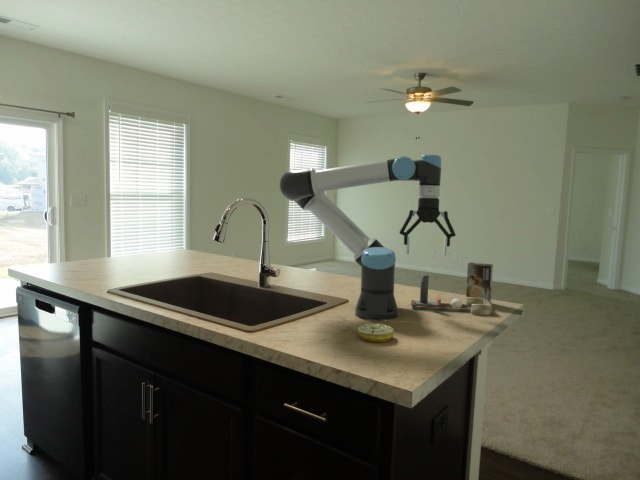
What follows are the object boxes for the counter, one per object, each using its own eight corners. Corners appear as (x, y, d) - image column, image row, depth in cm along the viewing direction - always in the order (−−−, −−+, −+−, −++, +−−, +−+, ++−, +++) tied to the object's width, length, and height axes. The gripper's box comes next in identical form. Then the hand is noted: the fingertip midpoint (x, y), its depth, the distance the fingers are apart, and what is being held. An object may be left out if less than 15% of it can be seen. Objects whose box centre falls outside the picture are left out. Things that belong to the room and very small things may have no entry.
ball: (451, 310, 168) (452, 299, 168) (449, 307, 172) (450, 297, 172) (462, 310, 168) (463, 300, 167) (460, 308, 172) (461, 297, 171)
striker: (415, 307, 170) (417, 276, 168) (415, 304, 174) (416, 274, 173) (440, 309, 168) (442, 277, 167) (439, 306, 173) (440, 275, 172)
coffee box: (491, 303, 181) (494, 264, 180) (489, 307, 176) (492, 266, 174) (467, 300, 185) (470, 262, 184) (465, 304, 180) (467, 264, 178)
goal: (471, 314, 164) (472, 304, 163) (465, 305, 175) (466, 297, 175) (491, 315, 163) (492, 305, 162) (484, 306, 174) (485, 298, 174)
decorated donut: (379, 331, 143) (379, 319, 142) (400, 341, 133) (400, 328, 133) (351, 335, 138) (351, 323, 138) (370, 346, 128) (371, 333, 128)
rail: (412, 309, 168) (412, 304, 168) (411, 304, 176) (411, 299, 176) (470, 312, 166) (470, 307, 165) (466, 307, 173) (466, 302, 173)
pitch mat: (412, 311, 167) (412, 310, 167) (410, 304, 178) (410, 303, 178) (491, 315, 163) (491, 314, 163) (484, 307, 174) (484, 307, 174)
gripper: (395, 196, 165) (392, 254, 168) (465, 198, 162) (462, 257, 164) (394, 196, 173) (392, 251, 175) (462, 198, 169) (458, 254, 172)
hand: (426, 254), depth 170 cm, fingers open, 13 cm apart
